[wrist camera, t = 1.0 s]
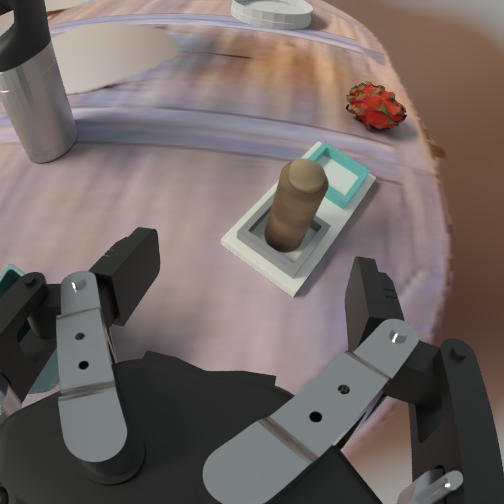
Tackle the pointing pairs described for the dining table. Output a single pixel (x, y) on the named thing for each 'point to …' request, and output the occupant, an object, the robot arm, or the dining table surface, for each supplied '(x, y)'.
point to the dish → (273, 13)
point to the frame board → (320, 231)
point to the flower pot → (50, 370)
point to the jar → (295, 204)
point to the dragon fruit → (375, 106)
